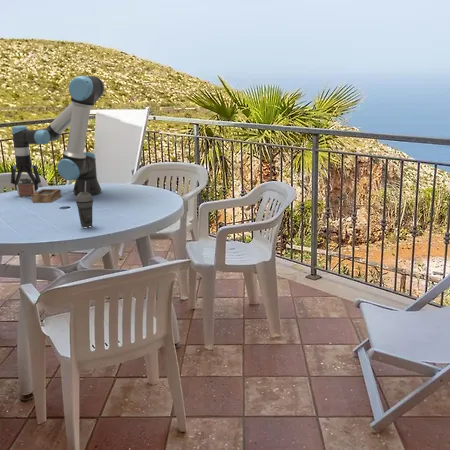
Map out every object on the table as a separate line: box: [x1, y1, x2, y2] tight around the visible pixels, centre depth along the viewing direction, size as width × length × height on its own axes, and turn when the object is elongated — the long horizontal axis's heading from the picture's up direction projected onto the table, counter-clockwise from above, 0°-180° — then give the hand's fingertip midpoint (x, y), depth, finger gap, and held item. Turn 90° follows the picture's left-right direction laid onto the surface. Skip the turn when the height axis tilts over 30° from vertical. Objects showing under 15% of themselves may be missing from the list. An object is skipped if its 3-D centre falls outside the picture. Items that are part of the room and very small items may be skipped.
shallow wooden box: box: [31, 188, 62, 204], centre depth 271 cm, size 10×14×4 cm
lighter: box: [18, 178, 34, 198], centre depth 279 cm, size 8×3×10 cm, turn 84°
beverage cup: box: [75, 181, 94, 228], centre depth 217 cm, size 7×7×20 cm
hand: (27, 195), depth 280 cm, fingers open, 8 cm apart
